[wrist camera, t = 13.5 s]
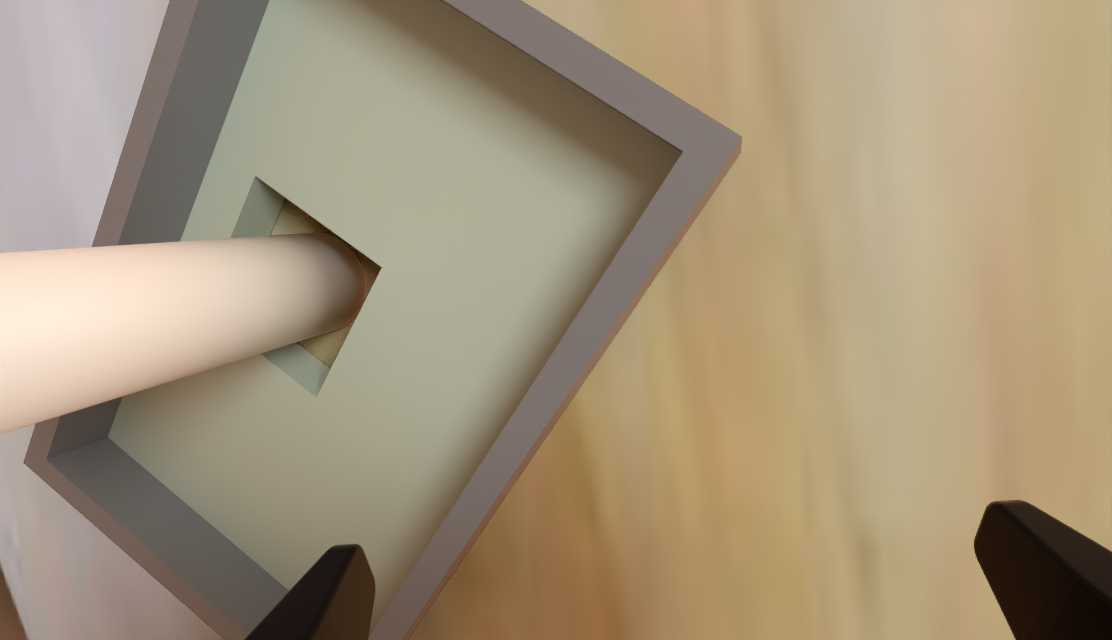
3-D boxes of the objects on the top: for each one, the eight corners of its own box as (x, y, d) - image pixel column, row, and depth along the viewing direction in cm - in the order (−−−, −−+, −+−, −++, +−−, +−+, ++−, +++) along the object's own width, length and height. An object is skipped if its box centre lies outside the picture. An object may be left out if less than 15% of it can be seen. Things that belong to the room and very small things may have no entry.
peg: (374, 252, 23) (-35, 305, 11) (353, 345, 24) (-41, 488, 12) (290, 219, 24) (-178, 233, 12) (274, 310, 25) (-171, 410, 13)
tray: (740, 151, 19) (741, 136, 14) (399, 651, 26) (335, 736, 22) (330, -104, 21) (227, -182, 17) (128, 424, 29) (23, 462, 24)
